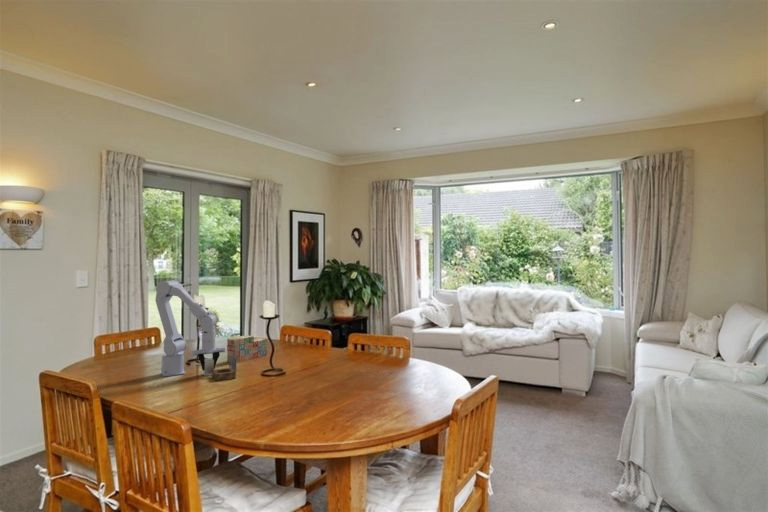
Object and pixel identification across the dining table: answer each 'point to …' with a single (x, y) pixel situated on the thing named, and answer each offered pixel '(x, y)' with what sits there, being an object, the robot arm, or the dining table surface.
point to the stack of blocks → (246, 348)
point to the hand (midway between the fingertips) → (208, 369)
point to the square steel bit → (208, 366)
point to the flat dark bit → (232, 362)
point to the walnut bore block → (223, 374)
